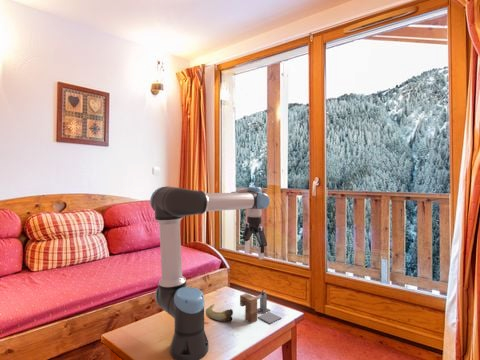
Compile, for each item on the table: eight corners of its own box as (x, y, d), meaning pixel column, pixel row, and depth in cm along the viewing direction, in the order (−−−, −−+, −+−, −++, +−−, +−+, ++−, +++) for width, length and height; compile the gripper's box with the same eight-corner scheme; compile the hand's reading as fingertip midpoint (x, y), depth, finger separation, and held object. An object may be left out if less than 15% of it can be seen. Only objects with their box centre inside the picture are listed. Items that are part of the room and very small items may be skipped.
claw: (240, 318, 144) (239, 311, 144) (224, 326, 137) (224, 319, 137) (213, 306, 158) (213, 300, 158) (198, 313, 151) (197, 307, 150)
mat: (270, 324, 138) (270, 323, 138) (257, 317, 144) (257, 316, 144) (281, 318, 144) (281, 317, 144) (269, 312, 150) (269, 311, 150)
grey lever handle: (244, 322, 140) (244, 301, 140) (237, 318, 144) (237, 297, 143) (270, 310, 152) (270, 291, 152) (263, 307, 156) (263, 288, 155)
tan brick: (257, 320, 142) (257, 298, 142) (251, 323, 139) (251, 300, 139) (246, 314, 148) (246, 293, 148) (240, 317, 145) (240, 295, 145)
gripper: (274, 218, 148) (273, 260, 149) (247, 212, 170) (247, 249, 170) (261, 219, 145) (261, 263, 145) (236, 213, 166) (236, 251, 167)
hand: (254, 255), depth 158 cm, fingers open, 13 cm apart
